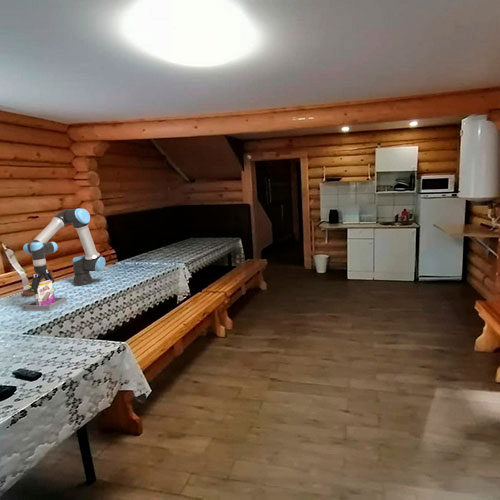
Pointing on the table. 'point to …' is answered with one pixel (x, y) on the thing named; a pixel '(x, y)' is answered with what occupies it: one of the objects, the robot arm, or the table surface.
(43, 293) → the candy bar box
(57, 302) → the holder
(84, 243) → the robot arm
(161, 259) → the table surface
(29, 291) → the plant
